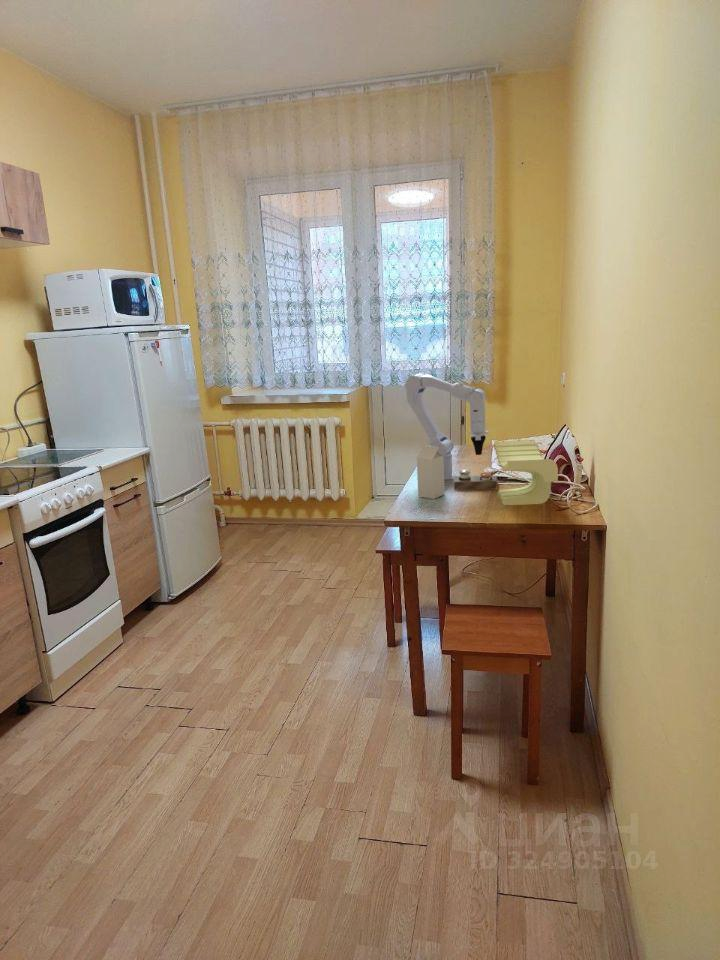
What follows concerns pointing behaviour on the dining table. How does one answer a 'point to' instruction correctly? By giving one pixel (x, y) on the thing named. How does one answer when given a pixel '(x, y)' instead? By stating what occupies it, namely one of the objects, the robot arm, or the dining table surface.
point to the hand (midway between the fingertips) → (478, 454)
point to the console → (475, 483)
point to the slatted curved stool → (526, 460)
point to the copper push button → (485, 476)
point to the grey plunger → (464, 474)
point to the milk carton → (430, 472)
